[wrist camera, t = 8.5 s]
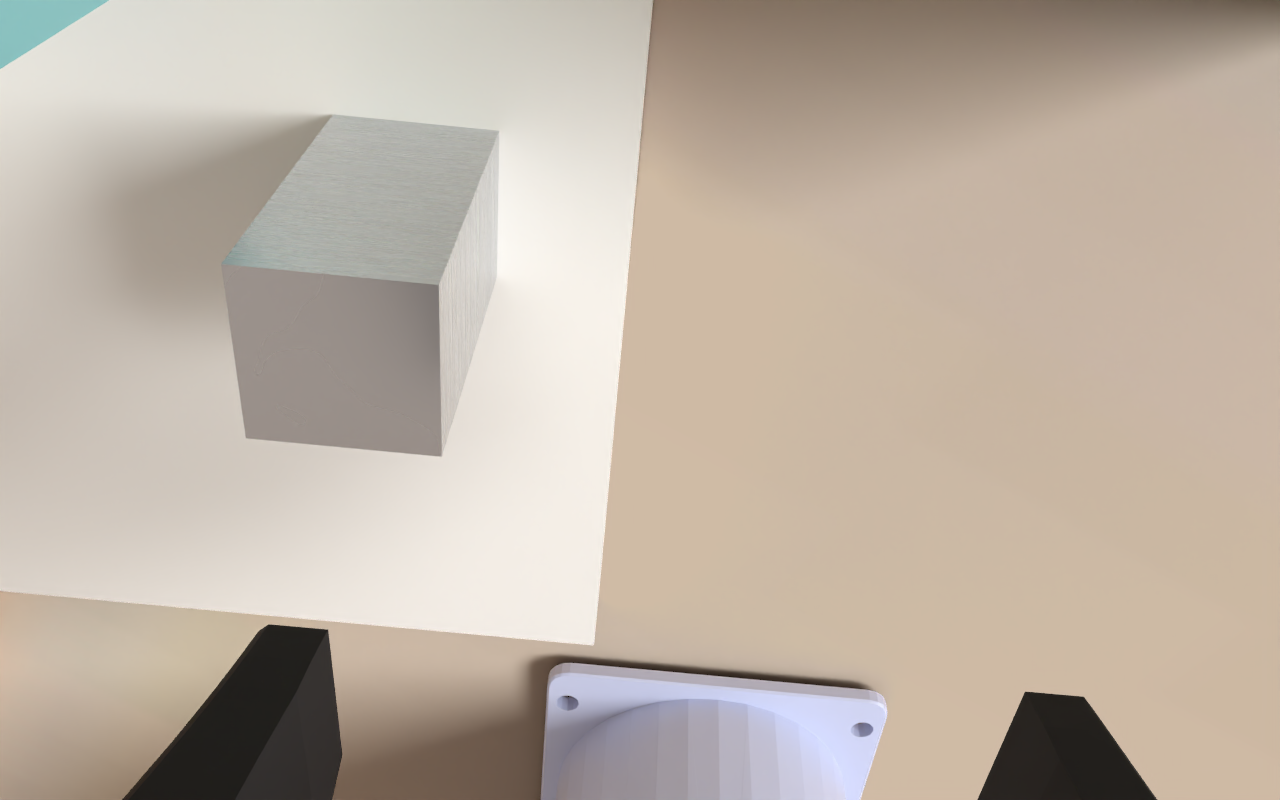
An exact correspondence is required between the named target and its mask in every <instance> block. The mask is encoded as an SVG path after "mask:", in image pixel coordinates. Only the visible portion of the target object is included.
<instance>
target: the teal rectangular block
mask: <svg viewBox="0 0 1280 800" xmlns="http://www.w3.org/2000/svg"><path fill="white" fill-rule="evenodd" d="M107 1H109V0H0V69H1V68H3V67H4V66H6V65H8V64H9V63H11V62H12V61H14V60H16V59H17V58H19V57H20V56H22V55H23V54H25V53H27V52H28V51H30V50H31V49H33V48H35V47H36V46H38V45H39V44H41V43H42V42H44V41H46V40H47V39H49V38H50V37H52V36H54V35H55V34H57V33H58V32H60V31H62V30H63V29H65V28H66V27H68V26H69V25H71V24H73V23H74V22H76V21H77V20H79V19H81V18H82V17H84V16H85V15H87V14H88V13H90V12H92V11H93V10H95V9H96V8H98V7H100V6H101V5H103V4H104V3H106V2H107Z"/></svg>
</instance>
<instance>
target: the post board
mask: <svg viewBox="0 0 1280 800" xmlns="http://www.w3.org/2000/svg"><path fill="white" fill-rule="evenodd" d="M652 8H653V0H109V1H107V2H106V3H104V4H103V5H101V6H100V7H98V8H96V9H95V10H93V11H92V12H90V13H88V14H87V15H85V16H84V17H82V18H81V19H79V20H77V21H76V22H74V23H73V24H71V25H69V26H68V27H66V28H65V29H63V30H62V31H60V32H58V33H57V34H55V35H54V36H52V37H50V38H49V39H47V40H46V41H44V42H42V43H41V44H39V45H38V46H36V47H35V48H33V49H31V50H30V51H28V52H27V53H25V54H23V55H22V56H20V57H19V58H17V59H16V60H14V61H12V62H11V63H9V64H8V65H6V66H4V67H3V68H1V69H0V591H6V592H17V593H27V594H38V595H49V596H60V597H71V598H82V599H93V600H104V601H115V602H126V603H137V604H148V605H159V606H170V607H180V608H191V609H202V610H213V611H224V612H235V613H246V614H257V615H268V616H279V617H290V618H301V619H312V620H322V621H333V622H344V623H355V624H366V625H377V626H388V627H399V628H410V629H421V630H432V631H443V632H454V633H464V634H475V635H486V636H497V637H508V638H519V639H530V640H541V641H552V642H563V643H574V644H585V645H594V638H595V628H596V618H597V608H598V598H599V587H600V577H601V566H602V555H603V544H604V533H605V522H606V511H607V500H608V489H609V478H610V467H611V456H612V445H613V434H614V423H615V412H616V402H617V391H618V380H619V369H620V358H621V347H622V336H623V325H624V314H625V303H626V292H627V281H628V270H629V259H630V248H631V237H632V226H633V216H634V205H635V194H636V183H637V172H638V161H639V150H640V139H641V128H642V117H643V106H644V95H645V84H646V73H647V62H648V51H649V41H650V30H651V19H652ZM332 115H344V116H354V117H364V118H374V119H384V120H394V121H404V122H415V123H425V124H435V125H445V126H455V127H465V128H475V129H486V130H496V131H499V181H498V243H497V279H496V282H495V285H494V289H493V292H492V295H491V298H490V302H489V305H488V308H487V311H486V315H485V318H484V321H483V324H482V328H481V331H480V334H479V337H478V341H477V344H476V347H475V350H474V354H473V357H472V360H471V364H470V367H469V370H468V373H467V377H466V380H465V383H464V386H463V390H462V393H461V396H460V399H459V403H458V406H457V409H456V412H455V416H454V419H453V422H452V425H451V429H450V432H449V435H448V438H447V442H446V445H445V448H444V451H443V455H442V457H439V456H429V455H418V454H407V453H397V452H386V451H375V450H365V449H354V448H343V447H333V446H322V445H311V444H301V443H290V442H280V441H269V440H258V439H248V438H246V436H245V429H244V422H243V415H242V408H241V401H240V394H239V387H238V380H237V373H236V366H235V359H234V352H233V345H232V337H231V330H230V323H229V316H228V309H227V302H226V295H225V288H224V281H223V274H222V267H221V263H222V262H223V261H224V259H225V258H226V257H227V255H228V254H229V253H230V251H231V250H232V249H233V247H234V246H235V245H236V243H237V242H238V241H239V239H240V238H241V237H242V235H243V234H244V233H245V231H246V230H247V229H248V227H249V226H250V225H251V223H252V222H253V221H254V219H255V218H256V217H257V215H258V214H259V213H260V211H261V210H262V209H263V207H264V206H265V205H266V203H267V202H268V201H269V199H270V198H271V197H272V195H273V194H274V193H275V191H276V190H277V189H278V187H279V186H280V185H281V183H282V182H283V181H284V179H285V178H286V177H287V175H288V174H289V173H290V171H291V170H292V169H293V167H294V166H295V165H296V163H297V162H298V161H299V159H300V158H301V157H302V155H303V154H304V153H305V151H306V150H307V149H308V147H309V146H310V145H311V143H312V142H313V141H314V139H315V138H316V137H317V135H318V134H319V133H320V131H321V130H322V129H323V127H324V126H325V125H326V123H327V122H328V121H329V119H330V118H331V117H332Z"/></svg>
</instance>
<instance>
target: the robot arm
mask: <svg viewBox="0 0 1280 800" xmlns="http://www.w3.org/2000/svg"><path fill="white" fill-rule="evenodd" d="M565 696H572V697H565ZM886 718H887V706H886V701H885V699H884V697H883V696H882V695H881V694H879V693H878V692H875V691H871V690H865V689H854V688H843V687H832V686H821V685H810V684H799V683H788V682H777V681H766V680H755V679H744V678H733V677H722V676H711V675H701V674H690V673H679V672H668V671H657V670H646V669H635V668H624V667H613V666H602V665H591V664H580V663H562V664H559V665H556V666H555V667H554V668H553V669H551V671H550V673H549V678H548V685H547V701H546V718H545V735H544V752H543V769H542V786H541V800H860V799H861V796H862V793H863V790H864V786H865V783H866V780H867V777H868V774H869V771H870V768H871V765H872V762H873V759H874V755H875V752H876V749H877V746H878V743H879V740H880V737H881V734H882V731H883V728H884V724H885V721H886ZM863 722H865V723H863ZM857 723H861V724H857ZM341 758H342V748H341V740H340V731H339V722H338V713H337V704H336V696H335V687H334V678H333V669H332V661H331V652H330V643H329V634H328V630H325V629H314V628H302V627H291V626H280V625H267V626H266V627H264V628H263V629H261V630H260V631H259V632H258V633H257V634H256V636H255V637H254V638H253V640H252V641H251V642H250V644H249V645H248V646H247V648H246V649H245V651H244V652H243V653H242V655H241V656H240V657H239V659H238V660H237V661H236V662H235V664H234V665H233V666H232V668H231V669H230V670H229V672H228V673H227V674H226V676H225V677H224V678H223V679H222V681H221V682H220V683H219V685H218V686H217V687H216V688H215V690H214V691H213V692H212V694H211V695H210V696H209V697H208V699H207V700H206V701H205V702H204V704H203V705H202V706H201V707H200V709H199V710H198V711H197V712H196V713H195V715H194V716H193V717H192V718H191V720H190V721H189V722H188V723H187V725H186V726H185V727H184V728H183V729H182V731H181V732H180V733H179V734H178V736H177V737H176V738H175V739H174V740H173V742H172V743H171V744H170V745H169V746H168V747H167V749H166V750H165V751H164V752H163V753H162V754H161V756H160V757H159V758H158V759H157V760H156V761H155V762H154V764H153V765H152V766H151V767H150V768H149V769H148V771H147V772H146V773H145V774H144V775H143V776H142V778H141V779H140V780H139V781H138V782H137V783H136V785H135V786H134V787H133V788H132V789H131V790H130V791H129V793H128V794H127V795H126V796H125V797H124V798H123V800H332V797H333V793H334V788H335V784H336V780H337V775H338V771H339V766H340V762H341ZM978 800H1157V799H1156V797H1155V796H1154V795H1153V793H1152V792H1151V790H1150V789H1149V788H1148V786H1147V785H1146V783H1145V782H1144V781H1143V779H1142V778H1141V776H1140V775H1139V774H1138V772H1137V771H1136V769H1135V768H1134V766H1133V765H1132V764H1131V762H1130V761H1129V759H1128V758H1127V757H1126V755H1125V754H1124V752H1123V751H1122V749H1121V748H1120V747H1119V745H1118V744H1117V742H1116V741H1115V740H1114V738H1113V737H1112V735H1111V734H1110V732H1109V731H1108V730H1107V728H1106V727H1105V725H1104V724H1103V723H1102V721H1101V720H1100V718H1099V717H1098V716H1097V714H1096V713H1095V711H1094V710H1093V709H1092V707H1091V706H1090V704H1089V703H1088V702H1087V701H1086V699H1085V698H1084V697H1079V696H1068V695H1056V694H1045V693H1034V692H1025V693H1024V696H1023V698H1022V700H1021V702H1020V705H1019V707H1018V709H1017V712H1016V714H1015V716H1014V718H1013V721H1012V723H1011V725H1010V727H1009V730H1008V732H1007V734H1006V736H1005V739H1004V741H1003V743H1002V745H1001V748H1000V750H999V752H998V755H997V757H996V759H995V761H994V764H993V766H992V768H991V770H990V773H989V775H988V777H987V779H986V782H985V784H984V786H983V789H982V791H981V793H980V795H979V798H978Z"/></svg>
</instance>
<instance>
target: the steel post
mask: <svg viewBox="0 0 1280 800" xmlns="http://www.w3.org/2000/svg"><path fill="white" fill-rule="evenodd" d="M498 181H499V131H496V130H486V129H475V128H465V127H455V126H445V125H435V124H425V123H415V122H404V121H394V120H384V119H374V118H364V117H354V116H344V115H332V117H331V118H330V119H329V121H328V122H327V123H326V125H325V126H324V127H323V129H322V130H321V131H320V133H319V134H318V135H317V137H316V138H315V139H314V141H313V142H312V143H311V145H310V146H309V147H308V149H307V150H306V151H305V153H304V154H303V155H302V157H301V158H300V159H299V161H298V162H297V163H296V165H295V166H294V167H293V169H292V170H291V171H290V173H289V174H288V175H287V177H286V178H285V179H284V181H283V182H282V183H281V185H280V186H279V187H278V189H277V190H276V191H275V193H274V194H273V195H272V197H271V198H270V199H269V201H268V202H267V203H266V205H265V206H264V207H263V209H262V210H261V211H260V213H259V214H258V215H257V217H256V218H255V219H254V221H253V222H252V223H251V225H250V226H249V227H248V229H247V230H246V231H245V233H244V234H243V235H242V237H241V238H240V239H239V241H238V242H237V243H236V245H235V246H234V247H233V249H232V250H231V251H230V253H229V254H228V255H227V257H226V258H225V259H224V261H223V262H222V263H221V267H222V274H223V281H224V288H225V295H226V302H227V309H228V316H229V323H230V330H231V337H232V345H233V352H234V359H235V366H236V373H237V380H238V387H239V394H240V401H241V408H242V415H243V422H244V429H245V436H246V438H248V439H258V440H269V441H280V442H290V443H301V444H311V445H322V446H333V447H343V448H354V449H365V450H375V451H386V452H397V453H407V454H418V455H429V456H439V457H442V455H443V451H444V448H445V445H446V442H447V438H448V435H449V432H450V429H451V425H452V422H453V419H454V416H455V412H456V409H457V406H458V403H459V399H460V396H461V393H462V390H463V386H464V383H465V380H466V377H467V373H468V370H469V367H470V364H471V360H472V357H473V354H474V350H475V347H476V344H477V341H478V337H479V334H480V331H481V328H482V324H483V321H484V318H485V315H486V311H487V308H488V305H489V302H490V298H491V295H492V292H493V289H494V285H495V282H496V279H497V243H498Z"/></svg>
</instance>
